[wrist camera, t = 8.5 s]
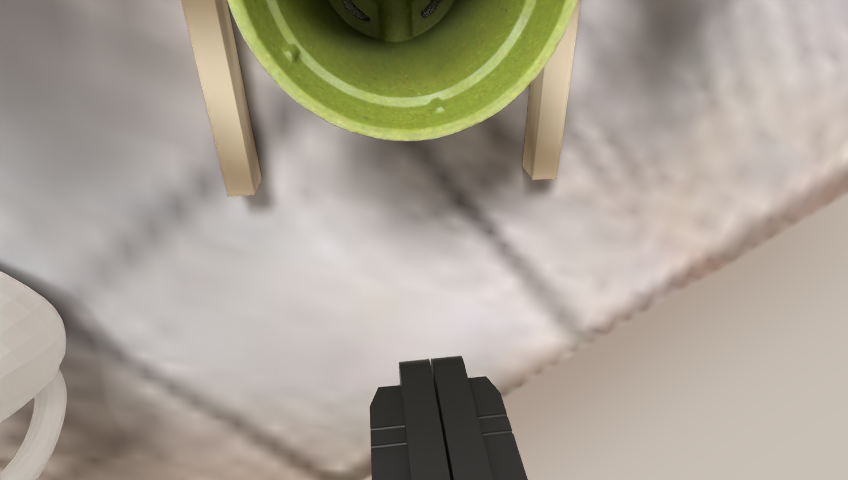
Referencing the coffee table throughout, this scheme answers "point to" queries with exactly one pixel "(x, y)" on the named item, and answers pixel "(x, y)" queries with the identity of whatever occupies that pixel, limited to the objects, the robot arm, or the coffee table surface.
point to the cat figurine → (31, 373)
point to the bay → (233, 121)
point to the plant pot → (403, 58)
